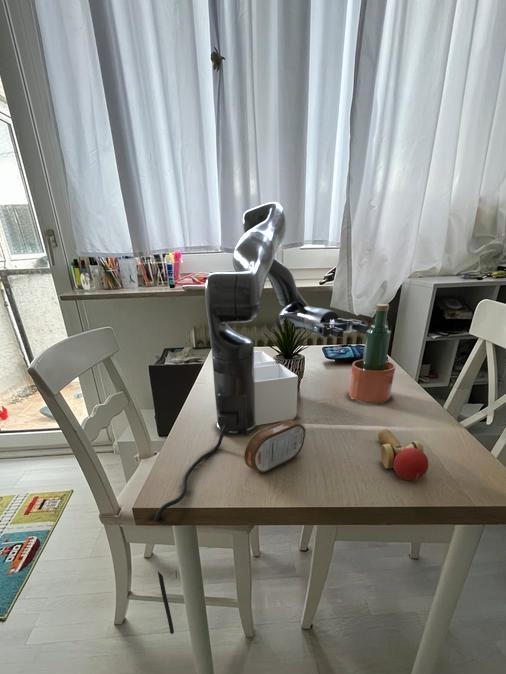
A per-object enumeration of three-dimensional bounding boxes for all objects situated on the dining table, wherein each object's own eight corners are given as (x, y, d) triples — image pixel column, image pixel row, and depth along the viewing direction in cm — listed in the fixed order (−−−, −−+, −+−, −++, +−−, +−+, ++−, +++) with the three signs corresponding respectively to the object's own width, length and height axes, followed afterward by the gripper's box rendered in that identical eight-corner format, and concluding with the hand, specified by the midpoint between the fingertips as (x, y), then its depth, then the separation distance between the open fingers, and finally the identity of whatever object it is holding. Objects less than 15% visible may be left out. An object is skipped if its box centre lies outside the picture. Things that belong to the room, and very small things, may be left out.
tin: (295, 449, 84) (297, 412, 80) (306, 454, 82) (309, 417, 78) (243, 474, 76) (242, 435, 72) (254, 480, 74) (253, 441, 70)
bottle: (381, 399, 106) (397, 306, 93) (359, 398, 106) (371, 306, 94) (378, 391, 110) (393, 302, 98) (357, 391, 111) (368, 302, 99)
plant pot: (392, 405, 103) (399, 371, 99) (350, 403, 105) (354, 370, 100) (386, 390, 113) (391, 359, 108) (347, 389, 114) (350, 358, 109)
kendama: (362, 448, 86) (390, 482, 70) (370, 420, 84) (401, 450, 68) (395, 452, 87) (431, 488, 71) (404, 425, 84) (443, 455, 68)
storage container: (296, 419, 98) (298, 376, 92) (255, 426, 95) (254, 382, 89) (262, 387, 118) (261, 350, 112) (227, 392, 115) (224, 354, 109)
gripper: (302, 311, 115) (335, 320, 103) (341, 306, 120) (377, 314, 108) (300, 337, 119) (332, 349, 107) (339, 332, 124) (373, 342, 112)
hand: (355, 332), depth 107 cm, fingers open, 8 cm apart
